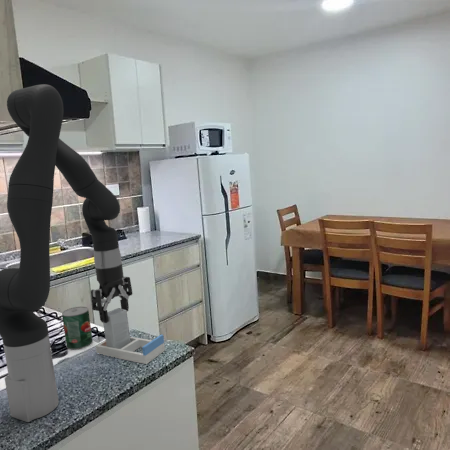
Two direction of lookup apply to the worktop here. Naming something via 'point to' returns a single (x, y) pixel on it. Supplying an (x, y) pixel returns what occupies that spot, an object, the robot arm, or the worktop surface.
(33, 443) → the worktop surface
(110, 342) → the skincare box
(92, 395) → the worktop surface
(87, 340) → the canned tomato
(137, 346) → the two-compartment tray
